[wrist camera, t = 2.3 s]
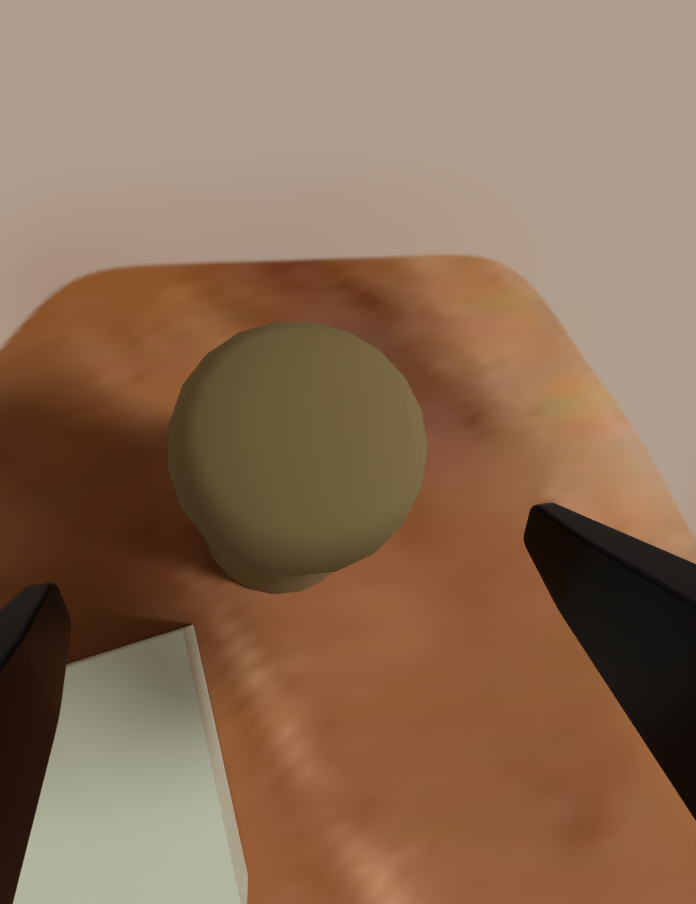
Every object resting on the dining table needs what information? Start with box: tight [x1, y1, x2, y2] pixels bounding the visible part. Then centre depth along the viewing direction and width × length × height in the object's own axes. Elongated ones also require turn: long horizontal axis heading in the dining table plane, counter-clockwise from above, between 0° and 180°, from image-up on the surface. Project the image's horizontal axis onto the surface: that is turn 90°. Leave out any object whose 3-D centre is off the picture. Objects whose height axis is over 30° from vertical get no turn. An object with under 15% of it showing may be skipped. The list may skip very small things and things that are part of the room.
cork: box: [168, 322, 428, 594], centre depth 13 cm, size 6×6×11 cm
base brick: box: [13, 625, 248, 904], centre depth 14 cm, size 8×8×2 cm
